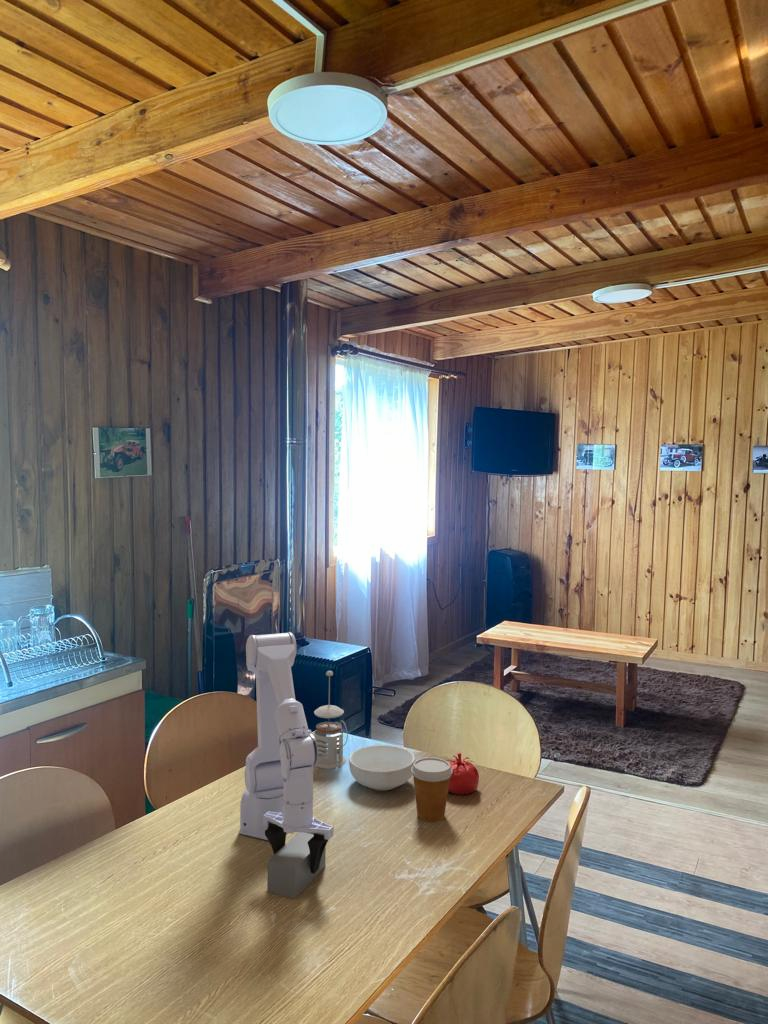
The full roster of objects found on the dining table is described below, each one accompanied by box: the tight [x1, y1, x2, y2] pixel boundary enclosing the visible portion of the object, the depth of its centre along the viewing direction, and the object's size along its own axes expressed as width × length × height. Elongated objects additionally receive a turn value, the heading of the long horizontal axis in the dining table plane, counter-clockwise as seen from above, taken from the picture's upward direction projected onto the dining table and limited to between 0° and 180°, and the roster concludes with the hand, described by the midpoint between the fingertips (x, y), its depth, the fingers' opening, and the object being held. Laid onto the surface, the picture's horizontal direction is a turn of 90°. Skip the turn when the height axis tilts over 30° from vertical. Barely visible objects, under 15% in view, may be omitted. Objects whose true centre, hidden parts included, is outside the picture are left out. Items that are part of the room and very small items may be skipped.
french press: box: [313, 670, 349, 769], centre depth 203 cm, size 10×12×25 cm
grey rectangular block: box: [266, 832, 327, 900], centre depth 146 cm, size 6×12×6 cm, turn 157°
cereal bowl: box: [348, 744, 416, 791], centre depth 190 cm, size 17×17×7 cm
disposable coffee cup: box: [411, 756, 452, 822], centre depth 173 cm, size 10×10×12 cm
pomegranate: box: [445, 752, 480, 796], centre depth 187 cm, size 10×10×9 cm
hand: (297, 866), depth 146 cm, fingers open, 7 cm apart
